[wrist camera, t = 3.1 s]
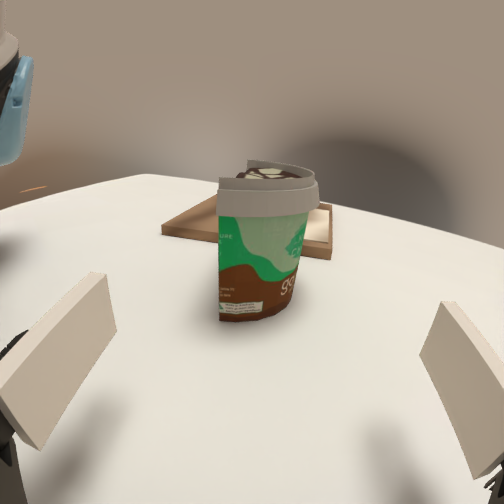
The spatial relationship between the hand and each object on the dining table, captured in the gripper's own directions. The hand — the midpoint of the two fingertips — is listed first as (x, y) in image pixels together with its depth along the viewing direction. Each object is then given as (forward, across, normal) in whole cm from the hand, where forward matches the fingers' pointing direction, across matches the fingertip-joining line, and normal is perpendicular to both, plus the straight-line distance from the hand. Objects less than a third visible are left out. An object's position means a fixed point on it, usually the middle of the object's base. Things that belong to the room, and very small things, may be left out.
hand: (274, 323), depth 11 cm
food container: (+13, 0, -6) cm, 14 cm away
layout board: (+33, -2, -6) cm, 34 cm away
